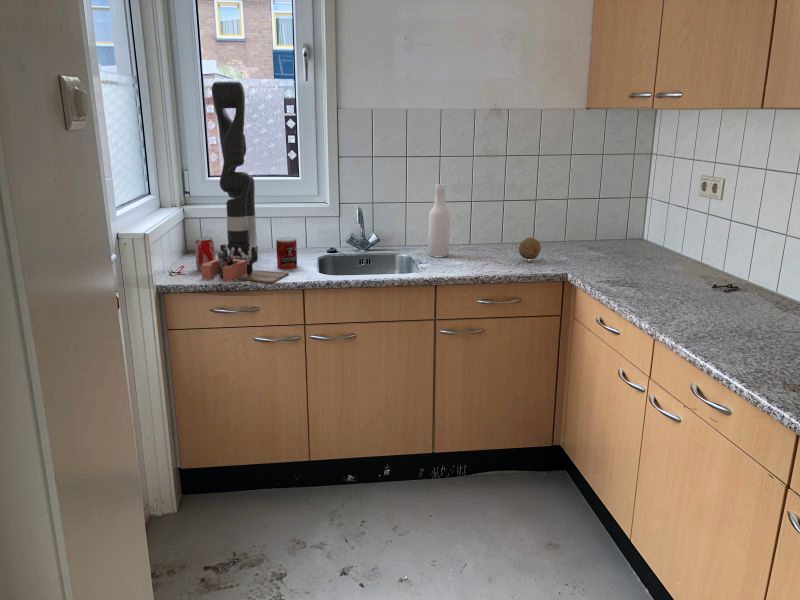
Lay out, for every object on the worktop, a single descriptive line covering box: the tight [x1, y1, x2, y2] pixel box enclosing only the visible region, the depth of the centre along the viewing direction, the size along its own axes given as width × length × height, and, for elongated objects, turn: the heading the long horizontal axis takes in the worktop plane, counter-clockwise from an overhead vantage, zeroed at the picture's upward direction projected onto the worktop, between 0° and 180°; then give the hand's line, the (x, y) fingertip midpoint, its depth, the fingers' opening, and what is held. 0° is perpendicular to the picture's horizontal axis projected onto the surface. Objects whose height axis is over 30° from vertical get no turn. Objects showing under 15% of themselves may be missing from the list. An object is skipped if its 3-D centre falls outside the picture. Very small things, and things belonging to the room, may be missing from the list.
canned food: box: [275, 236, 298, 270], centre depth 255 cm, size 8×8×11 cm
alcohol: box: [427, 183, 451, 257], centre depth 277 cm, size 9×9×30 cm
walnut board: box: [235, 269, 290, 285], centre depth 239 cm, size 14×14×1 cm
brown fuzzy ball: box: [518, 237, 542, 260], centre depth 270 cm, size 9×9×10 cm
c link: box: [200, 257, 247, 282], centre depth 240 cm, size 12×12×5 cm
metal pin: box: [217, 250, 225, 279], centre depth 238 cm, size 3×3×10 cm
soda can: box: [194, 236, 216, 272], centre depth 249 cm, size 7×7×12 cm
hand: (240, 273), depth 241 cm, fingers open, 6 cm apart
